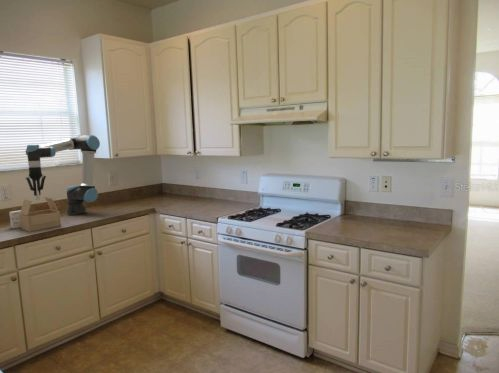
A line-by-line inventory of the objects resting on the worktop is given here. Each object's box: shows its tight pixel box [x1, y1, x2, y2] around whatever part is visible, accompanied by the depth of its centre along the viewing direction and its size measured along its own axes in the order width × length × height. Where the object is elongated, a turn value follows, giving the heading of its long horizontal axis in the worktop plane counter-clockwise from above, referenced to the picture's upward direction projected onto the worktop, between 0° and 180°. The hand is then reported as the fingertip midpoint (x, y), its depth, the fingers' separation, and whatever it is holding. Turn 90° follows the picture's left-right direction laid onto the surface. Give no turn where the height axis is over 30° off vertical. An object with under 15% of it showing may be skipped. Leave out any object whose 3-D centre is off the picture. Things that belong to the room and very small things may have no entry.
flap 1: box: [20, 198, 33, 216], centre depth 265 cm, size 1×13×10 cm, turn 49°
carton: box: [19, 208, 62, 233], centre depth 273 cm, size 21×17×10 cm
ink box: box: [8, 209, 21, 230], centre depth 275 cm, size 9×5×12 cm, turn 141°
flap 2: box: [43, 195, 59, 211], centre depth 278 cm, size 1×13×10 cm, turn 48°
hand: (37, 199), depth 271 cm, fingers closed
